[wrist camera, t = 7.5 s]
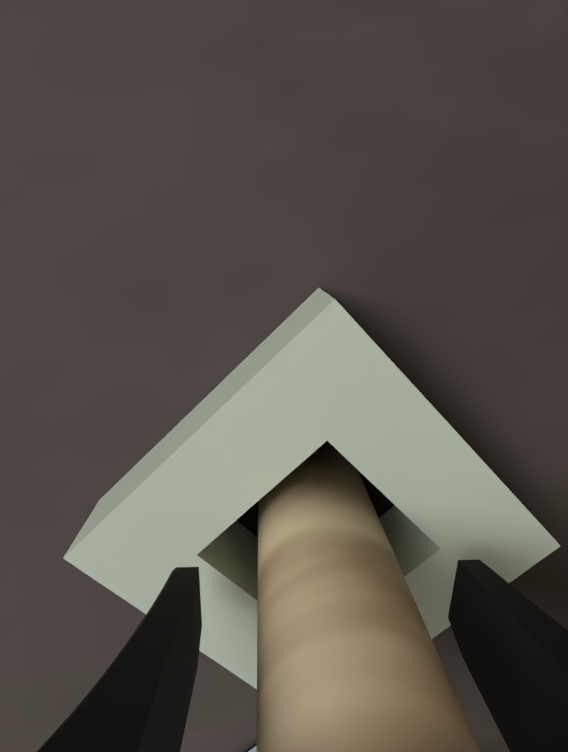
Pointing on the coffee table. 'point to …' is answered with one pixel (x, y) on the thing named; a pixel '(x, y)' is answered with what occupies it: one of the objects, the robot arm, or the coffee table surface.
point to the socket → (279, 458)
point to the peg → (342, 627)
